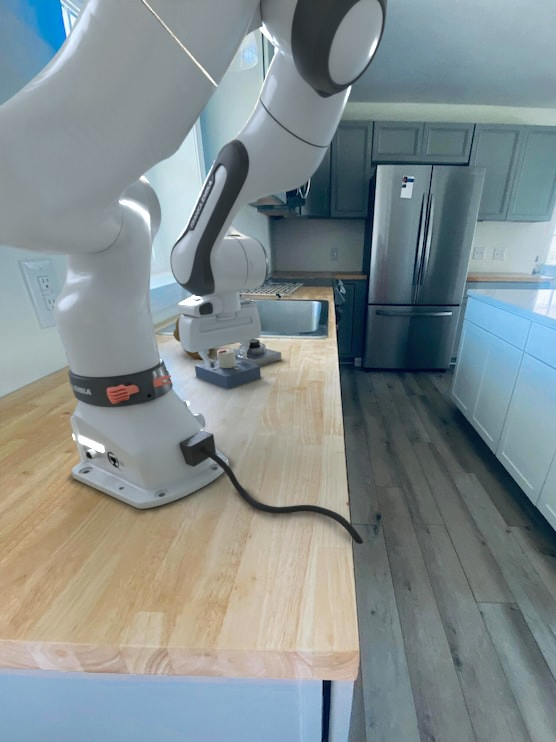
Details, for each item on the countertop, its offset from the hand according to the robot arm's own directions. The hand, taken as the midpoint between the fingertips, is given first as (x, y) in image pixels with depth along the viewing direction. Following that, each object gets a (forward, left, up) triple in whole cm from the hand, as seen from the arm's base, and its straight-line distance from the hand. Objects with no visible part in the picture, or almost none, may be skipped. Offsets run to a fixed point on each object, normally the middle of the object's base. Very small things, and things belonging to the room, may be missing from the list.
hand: (227, 363), depth 87 cm
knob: (0, 0, -1) cm, 1 cm away
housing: (+7, -14, -4) cm, 16 cm away
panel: (0, 0, -4) cm, 4 cm away
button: (+7, -14, 0) cm, 16 cm away
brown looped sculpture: (+28, -11, -4) cm, 30 cm away
